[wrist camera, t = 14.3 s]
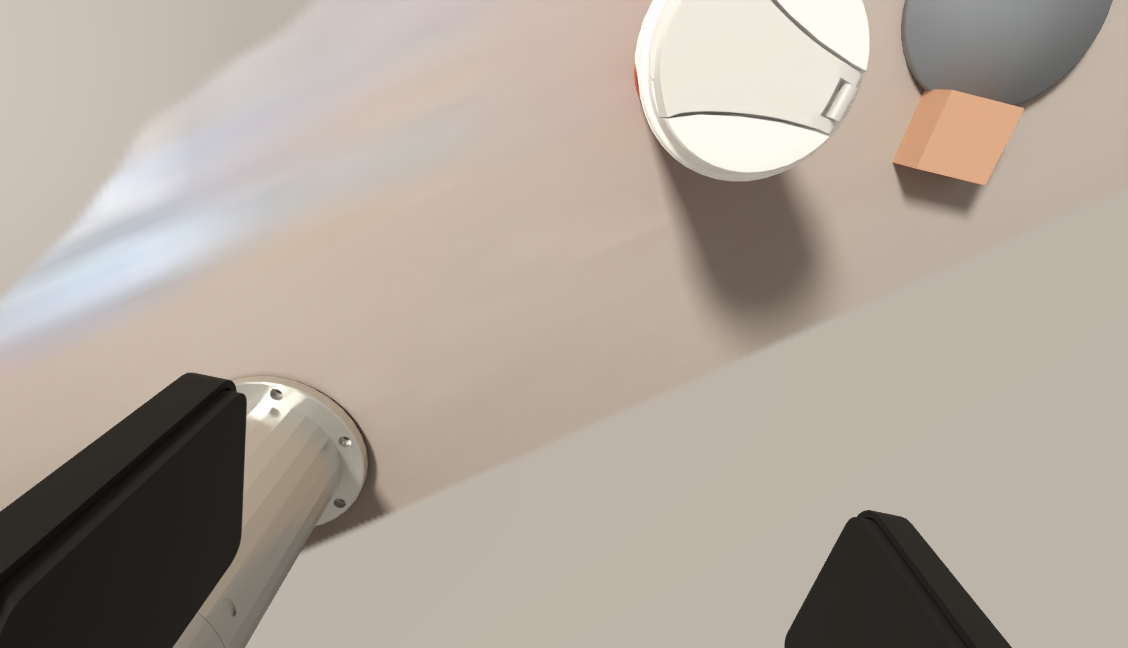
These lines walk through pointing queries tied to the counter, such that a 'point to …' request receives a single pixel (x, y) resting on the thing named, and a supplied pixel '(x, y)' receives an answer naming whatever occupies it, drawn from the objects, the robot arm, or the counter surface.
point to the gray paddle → (984, 73)
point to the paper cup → (749, 80)
